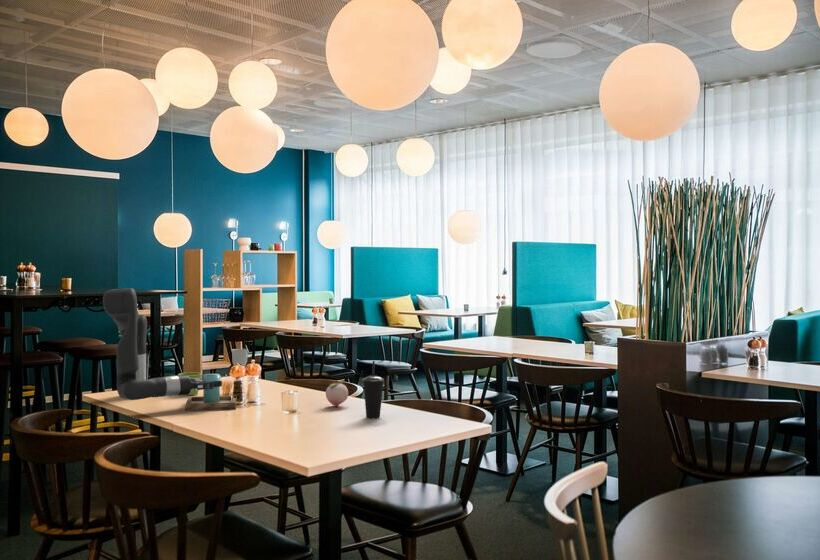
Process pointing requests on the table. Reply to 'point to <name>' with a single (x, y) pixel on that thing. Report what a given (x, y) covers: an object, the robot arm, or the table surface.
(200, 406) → the walnut tray
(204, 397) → the teal tumbler
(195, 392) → the plant pot
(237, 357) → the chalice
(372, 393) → the drinking cup
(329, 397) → the decorative fruit
